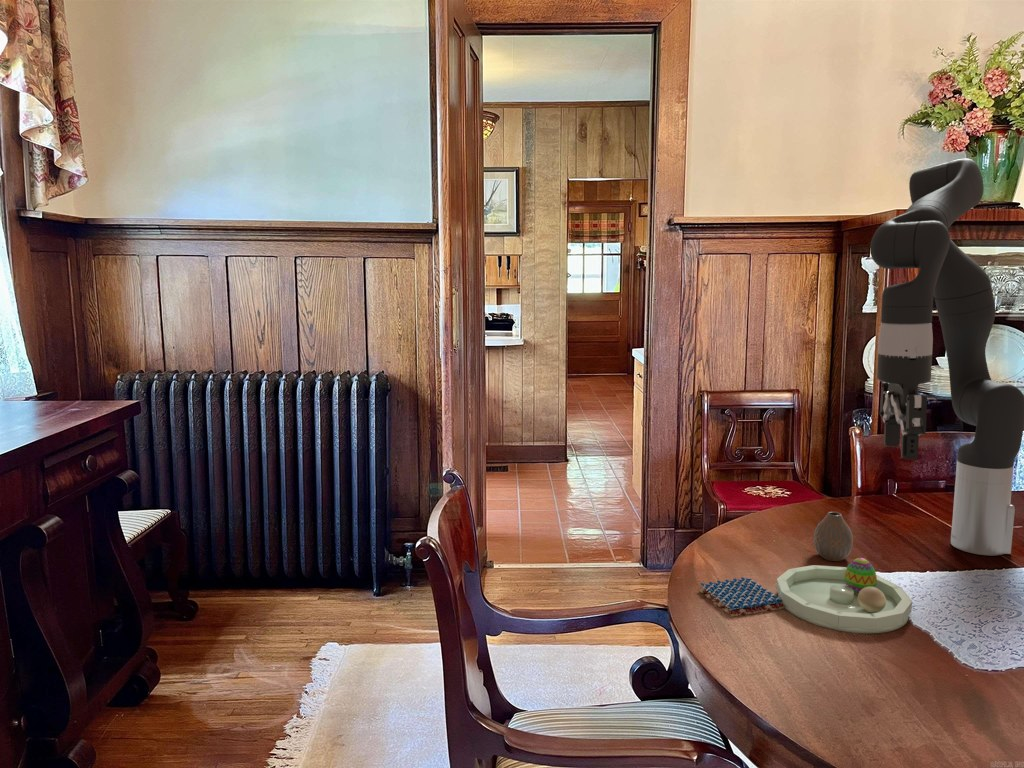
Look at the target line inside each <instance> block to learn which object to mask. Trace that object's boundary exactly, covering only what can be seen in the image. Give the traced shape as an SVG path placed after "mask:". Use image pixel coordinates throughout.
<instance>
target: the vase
mask: <svg viewBox="0 0 1024 768" xmlns="http://www.w3.org/2000/svg"><path fill="white" fill-rule="evenodd" d="M853 544H854V536H853V532H852V530H851V528H850V527H849V525H848V523H847V522H846V521H845V519H844V518H843V515H842V513H840V512H838V511H828V512H827V513H826V515H825V516H824V518H823V519H822V520H820V522H818V524H817V525H816V528H814V533H813V546H814V548H815V551H816V553H817V554H818V555H819V557H821V558H822V559H823V560H825V561H826V560H827V561H831V562H841V561H844V560H845V559H847V558H848V557H849V555H850V554H851V552H852V550H853V546H854V545H853Z"/></svg>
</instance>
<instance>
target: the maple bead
mask: <svg viewBox="0 0 1024 768" xmlns="http://www.w3.org/2000/svg"><path fill="white" fill-rule="evenodd" d="M858 602H859V604H860V606H861V607H862V608H863V609H864V610H865V611H867V612H871V613H877V612H880V611H881V610H882V609H883V608H884V607H885V605H886V598H885V596H884V594H883V592H882V591H881V590H879V589H878V588H875V587H865V588H863V589H862V590H861V591H860V592H859V594H858Z"/></svg>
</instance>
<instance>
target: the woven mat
mask: <svg viewBox="0 0 1024 768" xmlns="http://www.w3.org/2000/svg"><path fill="white" fill-rule="evenodd" d="M732 579H733V580H729V579H725V580H724V581H721V580H717V581H716V582H717V583H716V582H712V581H709V582H708V583H709V584H708V583H704V582H700V585H701V586H702V587H700V590H699V592H700V593H701V594H704V596H705V597H706V598H707V599H709V600H711V601H712V602H713V605H715V606H718V607H719V608H721V609H722V610H723V611H724V612H725V613H726V614H729V616H730V615H731V616H730V617H738V615H739V616H741V614H742V616H743V615H750V614H757V613H762V612H764V613H765V612H770V611H775V610H781V609H785V608H784V606H783V604H782V600H781V598H778V595H776V594H774V592H771V590H768V589H767V588H764V587H763V586H762V584H759V583H757V582H756V581H754V579H752V578H747V577H746V578H745V577H743V576H741V579H737V578H736V577H735V578H732ZM780 602H781V603H780Z"/></svg>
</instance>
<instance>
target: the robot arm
mask: <svg viewBox="0 0 1024 768" xmlns="http://www.w3.org/2000/svg"><path fill="white" fill-rule="evenodd" d="M908 187H909V188H908V189H909V197H910V201H911V204H910V206H909V207H907V209H906V210H905V212H904V213H902V214H900V215H897V216H895V217H892V218H891V219H888V220H887V221H884V222H883V223H882V224H881V225H879V227H878V228H877V229H876V231H875V232H874V234H873V236H872V238H871V241H870V246H869V248H870V249H869V251H870V256H871V258H872V260H873V262H874V263H875V264H876V265H877V266H878V267H880V268H883V269H889V270H897V269H899V270H901V269H919V271H918V273H917V275H916V277H914V278H912V280H910V281H907V282H903V283H898V284H892V285H889V286H886V287H885V288H884V289H883V291H882V295H881V307H880V308H881V313H880V314H881V315H880V329H879V332H878V343H877V366H876V368H877V369H876V379H877V380H878V381H879V382H881V385H880V386H881V389H880V404H879V406H880V407H879V415H880V417H881V418H882V422H883V423H884V428H883V429H884V433H883V443H884V445H885V446H887V447H898V446H901V447H900V456H901V458H902V459H904V460H916V459H917V458H918V457H919V444H920V442H919V441H920V440H919V439H920V436H921V435H926V433H927V416H928V415H927V413H928V412H927V409H928V407H927V406H928V396H927V395H926V394H920V393H919V388H918V387H919V385H922V384H928V383H929V382H931V378H932V367H933V365H932V364H933V363H932V362H933V348H934V347H933V344H934V343H933V342H934V336H933V335H934V334H933V323H932V322H933V311H934V309H933V308H934V301H935V307H936V310H937V316H938V319H939V322H940V327H941V332H942V337H943V343H944V348H945V354H946V359H947V365H948V374H949V388H950V399H951V403H952V409H953V411H954V414H955V415H956V416H957V418H958V419H960V420H961V421H962V422H964V423H965V424H968V425H971V426H974V427H975V432H974V438H973V441H972V442H969V443H964V444H961V445H960V446H959V447H958V449H957V458H956V470H955V483H954V495H953V496H954V497H953V510H952V519H951V521H952V522H951V532H950V544H951V546H953V547H954V548H956V549H958V550H960V551H963V552H965V553H966V552H967V553H970V554H974V555H981V556H990V557H991V556H1001V555H1006V554H1007V555H1010V554H1012V545H1013V544H1012V543H1013V533H1014V521H1015V511H1016V510H1015V505H1014V504H1012V503H1011V499H1012V487H1013V486H1012V485H1013V477H1014V476H1013V474H1014V465H1015V459H1016V457H1017V455H1018V454H1019V452H1020V450H1021V447H1022V440H1023V434H1024V393H1023V392H1022V391H1021V390H1020V389H1019V388H1018V387H1017V386H1015V385H1013V384H1009V383H1006V382H1001V381H995V380H992V378H991V375H990V372H989V367H988V363H987V358H986V356H987V355H986V348H987V343H988V340H989V337H990V334H991V331H992V328H993V325H994V322H995V318H996V303H995V297H994V294H993V288H992V283H991V279H990V277H989V275H988V274H987V272H986V271H985V270H984V269H983V268H982V267H981V265H979V264H978V263H977V262H976V261H975V260H974V259H972V258H971V257H970V256H969V255H967V254H966V252H964V251H963V250H962V249H960V247H958V245H957V244H956V243H955V242H954V241H953V240H952V239H951V235H950V232H949V230H950V229H949V228H950V227H951V225H952V224H953V223H955V222H956V221H957V220H958V219H960V218H961V217H962V216H963V215H964V214H966V213H968V212H969V211H970V210H972V209H973V208H974V207H976V206H977V205H979V203H980V202H981V201H982V198H983V195H984V181H983V175H982V172H981V169H980V167H979V165H978V163H977V162H976V161H974V160H973V159H970V158H959V159H955V160H950V161H947V162H943V163H940V164H937V165H936V164H935V165H932V166H930V167H929V166H928V167H925V168H922V169H920V170H919V169H918V170H915V172H913V173H912V174H911V176H910V178H909V186H908ZM901 434H902V435H901ZM900 440H901V441H900ZM900 442H901V443H900ZM900 444H901V445H900Z"/></svg>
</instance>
